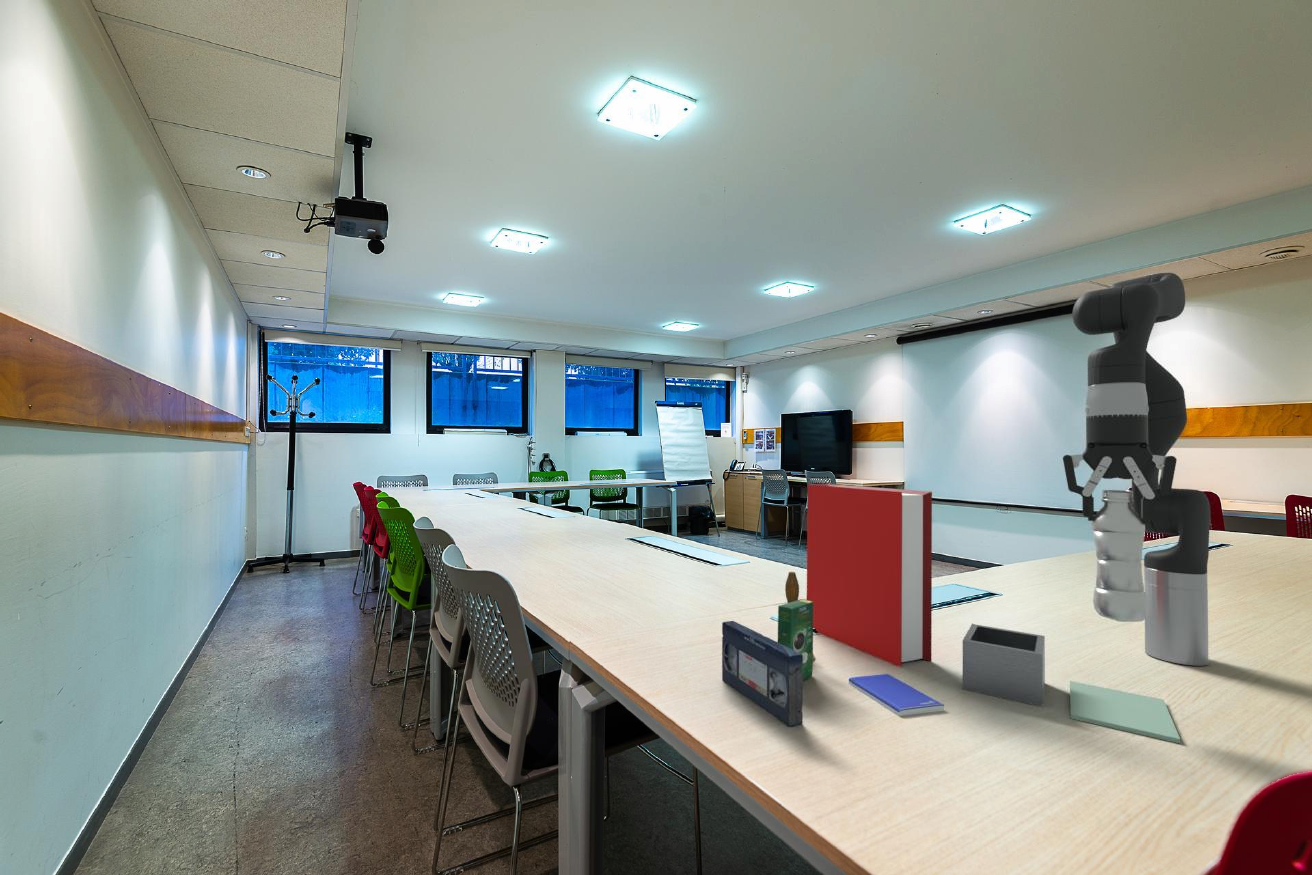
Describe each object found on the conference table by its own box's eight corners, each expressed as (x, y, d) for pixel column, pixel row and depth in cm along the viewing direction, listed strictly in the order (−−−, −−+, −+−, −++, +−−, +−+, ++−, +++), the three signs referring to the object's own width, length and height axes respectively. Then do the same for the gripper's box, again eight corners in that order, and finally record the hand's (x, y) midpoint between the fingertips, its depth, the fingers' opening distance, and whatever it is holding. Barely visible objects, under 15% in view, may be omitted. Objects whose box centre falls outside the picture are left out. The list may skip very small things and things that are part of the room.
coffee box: (799, 671, 100) (800, 597, 101) (814, 676, 98) (815, 600, 99) (775, 684, 95) (776, 605, 95) (790, 689, 93) (791, 608, 93)
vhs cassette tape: (720, 680, 96) (721, 621, 96) (735, 678, 97) (736, 619, 98) (786, 729, 79) (787, 657, 79) (803, 725, 80) (804, 654, 81)
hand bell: (798, 667, 102) (799, 578, 103) (761, 654, 109) (762, 571, 109) (823, 657, 108) (824, 573, 108) (787, 645, 114) (788, 566, 115)
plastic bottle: (1159, 628, 84) (1156, 492, 84) (1107, 624, 85) (1104, 491, 86) (1132, 616, 90) (1129, 489, 91) (1084, 613, 91) (1081, 489, 92)
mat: (1069, 684, 97) (1069, 680, 97) (1163, 703, 90) (1163, 699, 90) (1070, 718, 84) (1070, 714, 84) (1180, 743, 77) (1180, 738, 77)
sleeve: (972, 667, 104) (972, 623, 104) (1044, 682, 97) (1044, 635, 98) (962, 688, 94) (962, 640, 94) (1042, 707, 88) (1042, 654, 88)
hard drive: (944, 703, 86) (889, 672, 98) (899, 708, 84) (848, 677, 96) (944, 713, 86) (889, 682, 98) (899, 719, 84) (848, 686, 96)
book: (931, 661, 107) (931, 491, 108) (900, 667, 103) (901, 492, 104) (829, 622, 131) (830, 484, 133) (802, 625, 128) (803, 484, 129)
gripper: (1174, 414, 87) (1175, 523, 87) (1059, 417, 96) (1060, 516, 95) (1182, 411, 81) (1184, 528, 81) (1059, 413, 90) (1060, 520, 89)
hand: (1117, 521), depth 88 cm, fingers closed on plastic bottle, 6 cm apart
